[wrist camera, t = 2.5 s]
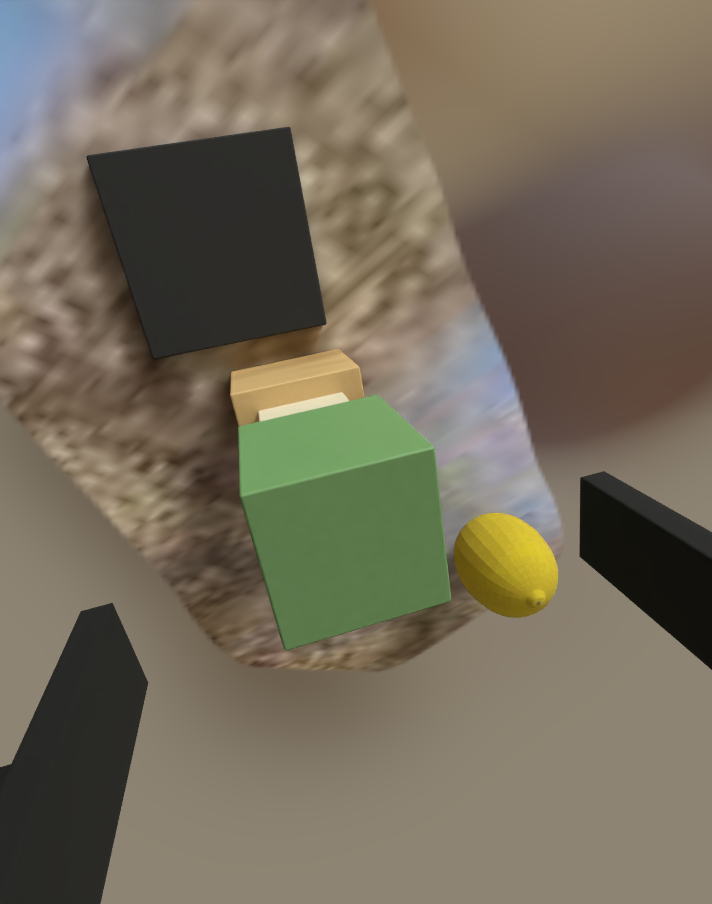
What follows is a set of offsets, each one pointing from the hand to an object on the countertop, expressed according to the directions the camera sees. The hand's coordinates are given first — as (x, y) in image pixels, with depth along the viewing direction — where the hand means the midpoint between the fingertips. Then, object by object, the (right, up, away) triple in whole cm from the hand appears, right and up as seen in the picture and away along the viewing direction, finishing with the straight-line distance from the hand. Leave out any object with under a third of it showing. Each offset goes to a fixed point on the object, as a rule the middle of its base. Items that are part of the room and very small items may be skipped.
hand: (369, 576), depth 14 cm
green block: (-2, +3, +6) cm, 7 cm away
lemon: (+8, -2, +20) cm, 22 cm away
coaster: (-7, +13, +11) cm, 18 cm away
